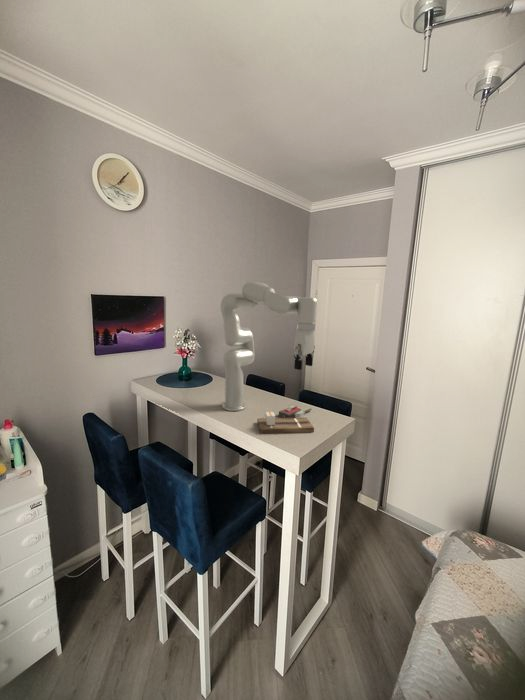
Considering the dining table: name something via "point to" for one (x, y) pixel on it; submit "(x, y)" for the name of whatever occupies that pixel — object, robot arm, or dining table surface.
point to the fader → (270, 418)
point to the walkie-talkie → (292, 412)
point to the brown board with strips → (285, 425)
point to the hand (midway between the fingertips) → (303, 367)
